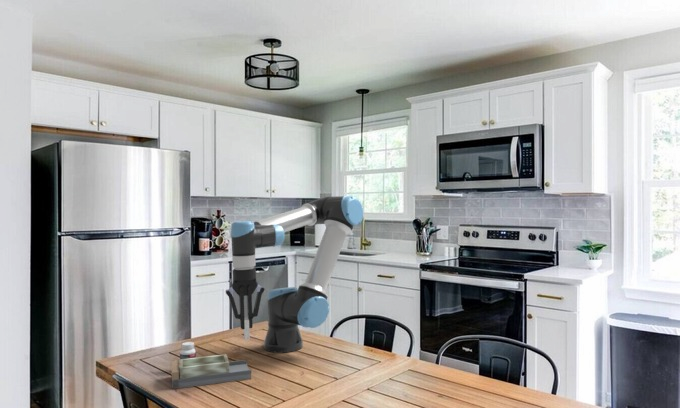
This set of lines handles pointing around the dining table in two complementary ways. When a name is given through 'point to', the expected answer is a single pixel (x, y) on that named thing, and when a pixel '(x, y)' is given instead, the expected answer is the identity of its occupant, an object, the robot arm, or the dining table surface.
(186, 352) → the pill bottle
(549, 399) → the dining table surface
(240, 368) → the rail board
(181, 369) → the caddy
